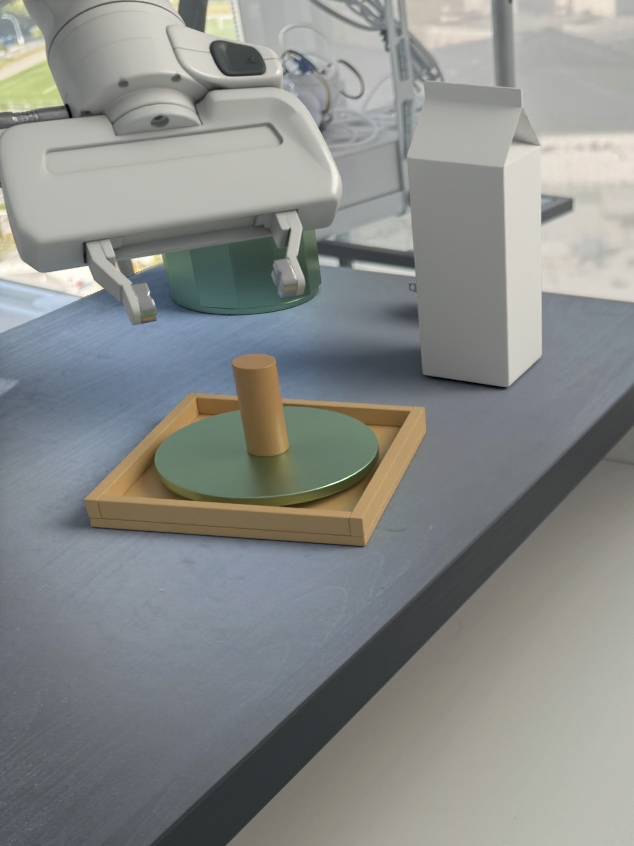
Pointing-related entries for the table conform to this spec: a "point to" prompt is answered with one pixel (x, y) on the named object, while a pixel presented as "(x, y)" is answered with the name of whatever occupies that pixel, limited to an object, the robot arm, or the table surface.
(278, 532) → the tray
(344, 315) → the table surface
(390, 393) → the table surface
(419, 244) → the milk carton
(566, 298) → the table surface
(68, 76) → the robot arm
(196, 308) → the tin
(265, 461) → the lid
